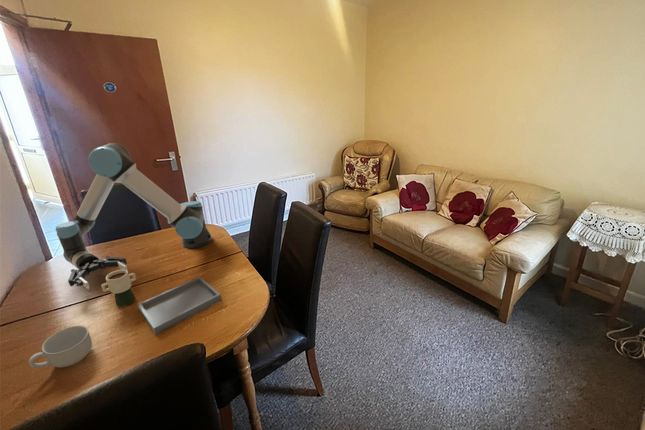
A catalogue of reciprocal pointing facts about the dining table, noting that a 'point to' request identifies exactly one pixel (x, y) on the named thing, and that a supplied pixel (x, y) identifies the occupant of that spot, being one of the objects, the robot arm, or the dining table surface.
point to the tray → (178, 304)
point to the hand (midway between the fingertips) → (108, 277)
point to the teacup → (64, 347)
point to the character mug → (120, 286)
